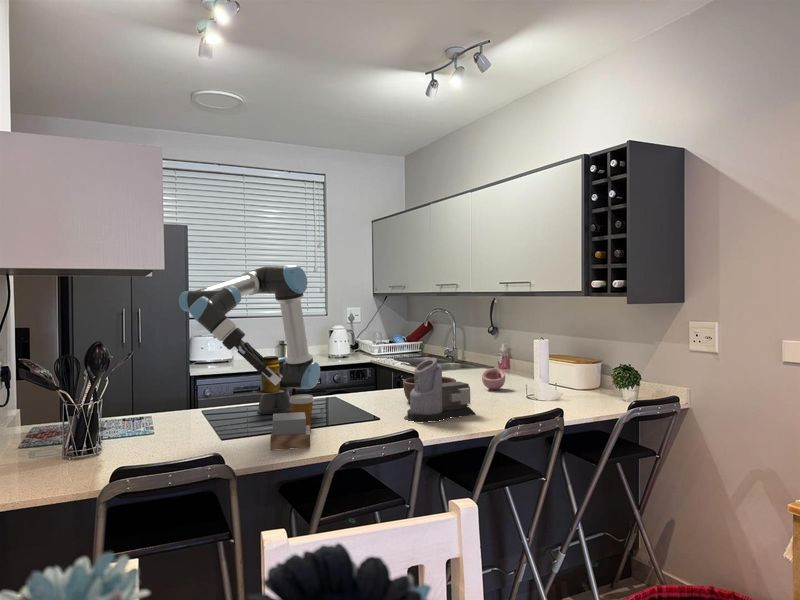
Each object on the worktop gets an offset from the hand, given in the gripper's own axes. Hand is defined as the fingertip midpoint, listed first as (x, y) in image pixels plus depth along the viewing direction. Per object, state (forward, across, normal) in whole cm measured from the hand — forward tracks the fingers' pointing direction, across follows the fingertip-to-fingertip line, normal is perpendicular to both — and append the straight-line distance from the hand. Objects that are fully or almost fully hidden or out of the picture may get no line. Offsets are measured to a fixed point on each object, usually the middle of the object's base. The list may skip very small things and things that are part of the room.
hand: (279, 380), depth 189 cm
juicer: (+60, -31, +28) cm, 73 cm away
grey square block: (+15, -1, -10) cm, 18 cm away
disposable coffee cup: (+20, -23, -11) cm, 33 cm away
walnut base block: (+19, -1, -13) cm, 23 cm away
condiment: (0, 0, -5) cm, 5 cm away
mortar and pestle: (+88, -83, +57) cm, 133 cm away
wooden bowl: (+61, -60, +30) cm, 91 cm away
